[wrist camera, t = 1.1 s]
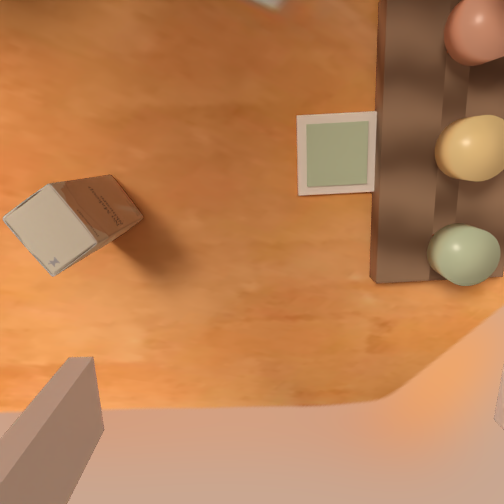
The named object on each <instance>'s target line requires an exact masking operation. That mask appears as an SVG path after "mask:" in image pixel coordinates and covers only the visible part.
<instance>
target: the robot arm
mask: <svg viewBox="0 0 504 504" xmlns="http://www.w3.org/2000/svg"><path fill="white" fill-rule="evenodd" d="M494 420H495V421H496V422H497V423H498V424H499V425H500V427H502V429H503V430H504V366H503V371H502V377H501V382H500V388H499V394H498V399H497V405H496V410H495V415H494ZM103 431H104V425H103V418H102V411H101V405H100V398H99V392H98V385H97V378H96V372H95V365H94V359H93V357H69V358H68V359H67V360H66V361H65V363H64V364H63V365H62V366H61V367H60V369H59V370H58V371H57V372H56V373H55V374H54V376H53V377H52V378H51V379H50V380H49V382H48V383H47V384H46V385H45V386H44V387H43V389H42V390H41V391H40V392H39V393H38V395H37V396H36V397H35V398H34V399H33V401H32V402H31V403H30V404H29V405H28V406H27V408H26V409H25V410H24V411H23V412H22V414H21V415H20V416H19V417H18V418H17V419H16V421H15V422H14V423H13V424H12V425H11V427H10V428H9V429H8V430H7V431H6V433H5V434H4V435H3V436H2V437H1V438H0V504H67V503H68V501H69V499H70V497H71V495H72V493H73V491H74V489H75V487H76V485H77V483H78V481H79V479H80V477H81V475H82V473H83V471H84V469H85V467H86V465H87V463H88V461H89V459H90V457H91V455H92V453H93V451H94V449H95V447H96V445H97V443H98V441H99V439H100V437H101V435H102V433H103Z"/></svg>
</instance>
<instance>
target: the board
mask: <svg viewBox="0 0 504 504" xmlns="http://www.w3.org/2000/svg"><path fill="white" fill-rule="evenodd" d="M461 1H462V0H381V1H380V2H379V7H378V37H377V67H376V97H375V111H377V122H376V151H375V180H374V192H372V217H371V247H370V278H371V279H372V280H373V281H374V282H375V283H393V282H412V281H430V280H448V279H446V278H445V277H443V276H442V275H440V274H439V273H437V272H436V271H434V270H433V269H432V267H431V266H430V264H429V262H428V259H427V249H428V245H429V242H430V240H431V239H432V234H435V233H436V232H438V231H439V230H440V229H441V228H443V227H445V226H447V225H450V224H454V223H464V224H467V225H470V226H473V227H476V228H479V229H482V230H485V231H487V232H489V233H491V234H492V235H493V236H494V237H495V238H496V239H497V241H498V243H499V246H500V260H499V263H498V266H497V268H496V269H495V271H494V272H493V273H492V274H491V275H490V276H489V277H503V271H504V169H503V171H501V172H500V173H499V174H498V175H496V176H495V177H493V178H491V179H488V180H485V181H468V180H461V179H455V178H451V177H449V176H447V175H445V174H444V173H443V172H442V171H441V170H440V169H439V167H438V166H437V163H436V160H435V145H436V142H437V139H438V137H439V135H440V134H441V132H442V131H443V130H444V129H445V128H446V127H447V126H448V125H449V124H451V123H452V122H454V121H456V120H458V119H461V118H466V117H474V116H481V115H494V116H497V117H500V118H502V119H503V120H504V56H503V57H500V58H498V59H495V60H492V61H489V62H486V63H484V64H481V65H477V66H466V65H462V64H460V63H458V62H456V61H455V60H454V59H453V58H452V57H451V56H450V55H449V53H447V49H446V47H445V43H444V28H445V24H446V21H447V18H448V16H449V14H450V13H451V11H452V10H453V9H454V7H455V6H456V5H457V4H458V3H459V2H461Z"/></svg>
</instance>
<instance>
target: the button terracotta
mask: <svg viewBox="0 0 504 504" xmlns="http://www.w3.org/2000/svg"><path fill="white" fill-rule="evenodd" d="M444 43H445V47H446V49H447V51H448V53H449V55H450V56H451V57H452V58H453V59H454V60H455V61H456V62H458V63H460V64H462V65H466V66H477V65H481V64H484V63H486V62H489V61H492V60H495V59H498V58H500V57H503V56H504V0H462V1H461V2H459V3H458V4H457V5H456V6H455V7H454V9H453V10H452V11H451V13H450V14H449V16H448V18H447V21H446V24H445V28H444Z"/></svg>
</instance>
